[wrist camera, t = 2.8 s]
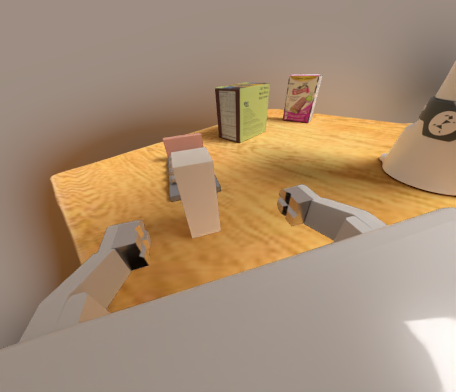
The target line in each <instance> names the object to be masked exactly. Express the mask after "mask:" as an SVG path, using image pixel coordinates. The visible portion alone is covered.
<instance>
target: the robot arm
mask: <svg viewBox="0 0 456 392" xmlns="http://www.w3.org/2000/svg"><path fill="white" fill-rule="evenodd" d="M419 118H420V120H418V121H417V122H416V123H413V124H411V125H408V126H407V127H406V128H405V129H404V130H403V132H402V133H401V135H400V136H399V138H398V139H397V141H396V142H395V144H394V145H393V147H392V148H391V149H390V151H389V152H388V153H386V154H382V155H381V156H380V158H379V159H380V160H381V161H382V162H383V165H382V168H383V170H384V171H385V172H386V173H387V174H388V175H390V176H391V177H393V178H395V179H397V180H399V181H401V182H403V183H405V184H408V185H410V186H413V187H416V188H419V189H423V190H427V191H431V192H435V193H440V194H447V195H455V196H456V61H455V63H454V65H453V67H452V68H451V70H450V72H449V74H448V75H447V77H446V79H445V81H444V82H443V84H442V86H441V88H440V89H439V91H438V93H437V94H436V96H433V97H431V98H430V100H429V101H428V103H427V104H426V105H425V106H424V108H423V111H422V113H421V114H420V116H419ZM279 195H280V198H279V199H278V203H277V205H278V209H279V211H280V213H281V214H283V215H285V216H286V220H287V221H288V222H289V224H290V225H291V226H295V225H299V224H303V223H304V224H305V225H307V226H309V227H310V228H312V229H314V230H316V231H318V232H319V233H321V234H323V235H325V236H327V237H329V238H330V239H332V240H334V241H333V243H331V244H328V245H325V246H322V247H319V248H316V249H312V250H309V251H306V252H303V253H300V254H297V255H294V256H290V257H287V258H284V259H281V260H278V261H275V262H272V263H268V264H265V265H262V266H259V267H256V268H253V269H249V270H246V271H243V272H240V273H237V274H234V275H231V276H227V277H224V278H221V279H218V280H215V281H212V282H208V283H205V284H202V285H199V286H196V287H193V288H190V289H186V290H183V291H180V292H177V293H174V294H171V295H167V296H164V297H161V298H158V299H155V300H152V301H149V302H145V303H142V304H139V305H136V306H133V307H130V308H126V309H123V310H120V311H117V312H114V313H110V312H109V311H108V310H106V309H107V307H108V306H109V304H110V303H111V301H112V300H113V298H114V297H115V295H116V294H117V292H118V291H119V289H120V288H121V286H122V285H123V283H124V282H125V280H126V279H127V277H128V276H129V274H130V273H131V271H132V270H135V269H139V268H142V267H145V266H149V258H150V254H149V252H148V250H149V248H150V245H151V242H150V236H149V233H148V231H147V230H145V229H144V226H145V225H144V223H143V221H142V220H137V221H132V222H126V223H121V224H117V225H112V226H109V227H108V228H107V230H106V232H105V235H104V237H103V240H102V243H101V245H100V248H99V251H98V253H94V254H93V255H92V256H91V257H90V258H89V259H88V260H87V261H86V262H84V263H83V264H82V265H81V266H80V267H79V268H78V269H77V270H76V271H75V272H74V273H73V274H71V275H70V276H69V277H68V278H67V279H66V280H65V281H64V282H63V283H62V284H61V285H59V286H58V288H56V289H55V290H54V291H53V292H52V293H51V294H50V295H49V296H48V297H46V298H45V299H44V300H43V301H42V302H41V303H40V304H39V306H38V308H37V310H36V311H35V313H34V315H33V317H32V319H31V320H30V323H29V324H28V326H27V328H26V330H25V332H24V333H23V335H22V337H21V339H20V341H19V342H18V343H16V344H13V345H10V346H7V347H3V348H0V392H456V208H442V209H438V210H435V211H432V212H429V213H426V214H423V215H420V216H416V217H413V218H410V219H407V220H404V221H401V222H398V223H394V224H391V225H386V224H385V223H384V222H382V221H381V220H379V219H378V218H376V217H375V216H373V215H372V214H370V213H369V212H368V211H365V210H362V209H358V208H355V207H352V206H349V205H346V204H342V203H339V202H336V201H333V200H330V199H327V198H321V197H319V196H318V195H317V194H316V193H314V192H313V191H312V190H311V189H309V188H308V187H307V186H306V185H304V184H301V185H296V186H293V187H289V188H284V189H281V190H280V192H279Z"/></svg>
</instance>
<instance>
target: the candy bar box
mask: <svg viewBox="0 0 456 392" xmlns="http://www.w3.org/2000/svg"><path fill="white" fill-rule="evenodd" d="M321 79H322V74H313V75H312V74H307V75H290V77H289V83H288V89H287V96H286V102H285V109H284V116H283V120H287V121H295V122H305V123H309V122H310V121H311V119H312V115H313V111H314V107H315V103H316V99H317V95H318V91H319V87H320V83H321Z"/></svg>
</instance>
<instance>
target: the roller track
mask: <svg viewBox="0 0 456 392" xmlns="http://www.w3.org/2000/svg"><path fill="white" fill-rule="evenodd" d="M163 142H164V145H165V149H166V152H167V156H168V165H169V188H170V199H171V202H173V201H177V200H181V197H180V193H179V190H178V186H177V183H176V179H175V176H174V172H173V168H172V157H171V152H177V151H183V150H189V149H196V148H202V147H203V141H202V135H201V133H196V134H188V135H181V136H175V137H168V138H163ZM215 183H216V192H219V191H221V187H220V184H219V182H218V180H217V178H216V176H215Z"/></svg>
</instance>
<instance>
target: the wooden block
mask: <svg viewBox="0 0 456 392" xmlns="http://www.w3.org/2000/svg"><path fill="white" fill-rule="evenodd" d="M171 157H172V168H173V172H174V176H175V179H176V183H177V186H178V190H179V193H180V197H181V200H182V204H183V207H184V211H185V214H186V218H187V222H188V225H189V229H190V232H191V236H192V239H193V238H196V237H200V236H204V235H208V234H211V233H215V232H219V231H221V227H220V219H219V210H218V201H217V192H216V183H215V174H214V165H213V160H212V158H211V156H210V154H209V152H208V151H207V149H206V147H202V148H196V149H189V150H183V151H177V152H171Z"/></svg>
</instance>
